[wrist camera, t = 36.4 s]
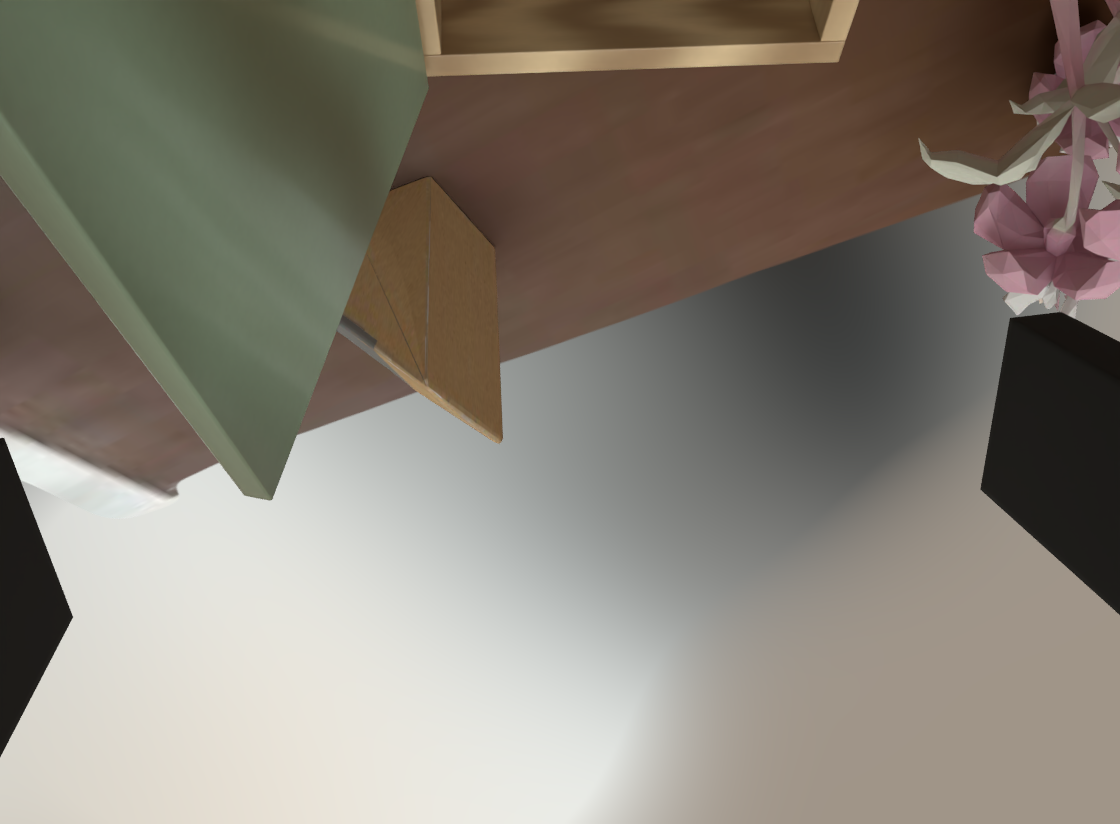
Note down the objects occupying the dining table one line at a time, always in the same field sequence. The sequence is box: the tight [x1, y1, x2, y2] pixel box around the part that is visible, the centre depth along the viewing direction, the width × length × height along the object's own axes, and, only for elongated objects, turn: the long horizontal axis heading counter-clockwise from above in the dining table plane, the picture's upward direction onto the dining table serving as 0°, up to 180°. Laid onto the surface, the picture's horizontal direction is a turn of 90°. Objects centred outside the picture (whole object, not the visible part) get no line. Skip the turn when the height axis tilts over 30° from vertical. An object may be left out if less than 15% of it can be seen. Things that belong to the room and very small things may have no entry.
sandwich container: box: [336, 177, 503, 443], centre depth 57 cm, size 9×15×15 cm, turn 116°
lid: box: [0, 0, 429, 500], centre depth 20 cm, size 16×17×1 cm
